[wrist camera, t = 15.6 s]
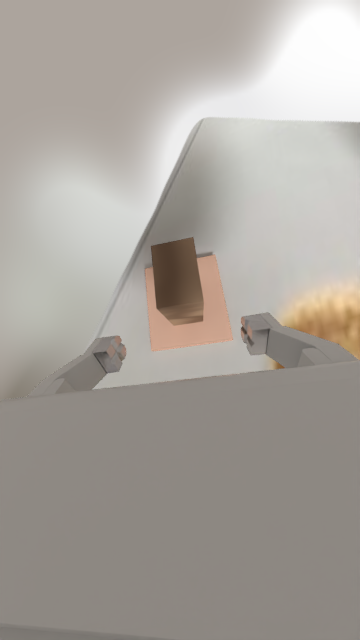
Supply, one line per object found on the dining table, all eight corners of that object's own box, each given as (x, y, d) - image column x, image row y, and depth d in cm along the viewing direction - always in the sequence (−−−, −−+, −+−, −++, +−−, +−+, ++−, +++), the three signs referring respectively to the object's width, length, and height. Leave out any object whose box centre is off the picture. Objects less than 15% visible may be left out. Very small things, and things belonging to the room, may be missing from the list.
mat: (214, 258, 26) (215, 254, 25) (231, 340, 22) (233, 339, 21) (146, 271, 27) (144, 268, 26) (153, 351, 24) (151, 351, 23)
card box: (196, 279, 24) (193, 237, 16) (203, 321, 23) (203, 300, 14) (169, 284, 25) (151, 246, 16) (173, 325, 23) (156, 308, 14)
